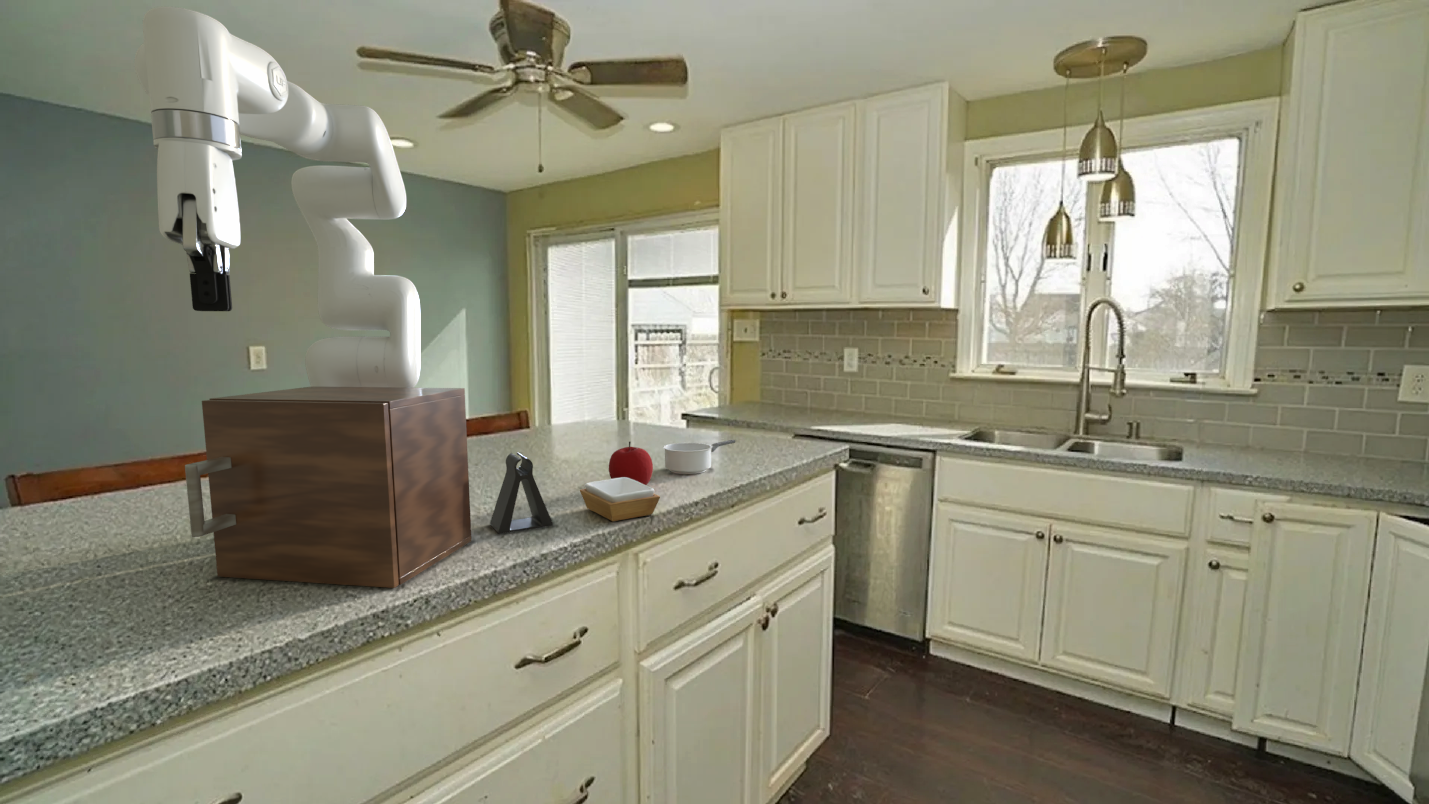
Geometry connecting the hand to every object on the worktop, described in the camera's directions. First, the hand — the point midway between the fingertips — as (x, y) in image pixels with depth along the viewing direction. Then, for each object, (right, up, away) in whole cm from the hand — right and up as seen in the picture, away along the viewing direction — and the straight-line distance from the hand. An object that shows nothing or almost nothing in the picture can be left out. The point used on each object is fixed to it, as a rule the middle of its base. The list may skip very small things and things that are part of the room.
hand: (213, 310), depth 74 cm
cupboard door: (+1, -34, +11) cm, 36 cm away
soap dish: (+38, -30, +46) cm, 67 cm away
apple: (+38, -28, +64) cm, 80 cm away
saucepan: (+52, -26, +84) cm, 103 cm away
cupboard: (+3, -33, +24) cm, 40 cm away
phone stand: (+23, -31, +39) cm, 55 cm away
